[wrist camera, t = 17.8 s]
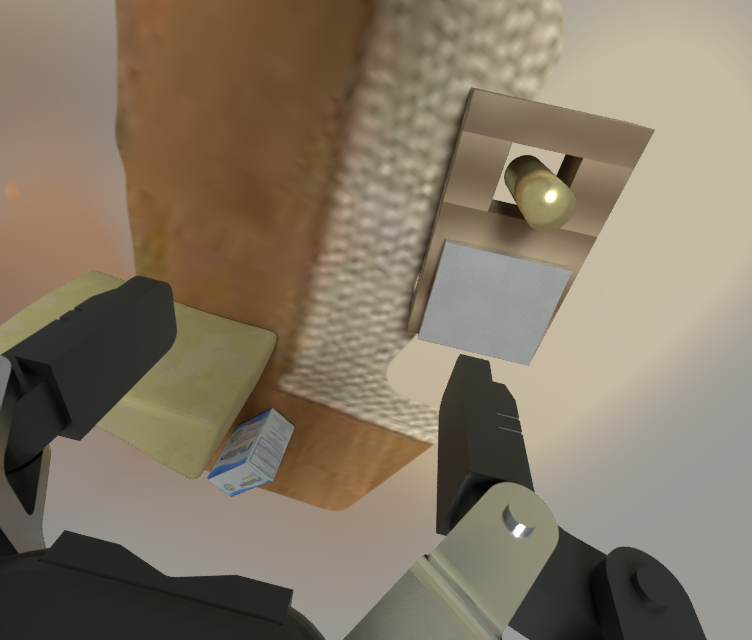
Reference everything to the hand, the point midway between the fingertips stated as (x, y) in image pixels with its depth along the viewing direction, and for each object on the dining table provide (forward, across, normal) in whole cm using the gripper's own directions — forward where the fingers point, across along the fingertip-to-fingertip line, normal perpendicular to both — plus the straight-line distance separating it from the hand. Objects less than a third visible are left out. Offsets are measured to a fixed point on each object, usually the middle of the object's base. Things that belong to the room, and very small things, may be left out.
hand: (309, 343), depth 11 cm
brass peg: (+26, -10, -1) cm, 28 cm away
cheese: (+26, +21, +22) cm, 41 cm away
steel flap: (+21, -10, +9) cm, 25 cm away
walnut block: (+26, -10, +4) cm, 28 cm away
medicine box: (+26, +11, +38) cm, 48 cm away
